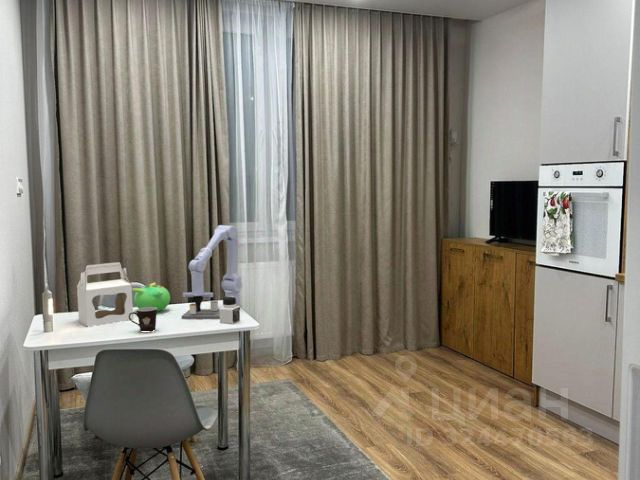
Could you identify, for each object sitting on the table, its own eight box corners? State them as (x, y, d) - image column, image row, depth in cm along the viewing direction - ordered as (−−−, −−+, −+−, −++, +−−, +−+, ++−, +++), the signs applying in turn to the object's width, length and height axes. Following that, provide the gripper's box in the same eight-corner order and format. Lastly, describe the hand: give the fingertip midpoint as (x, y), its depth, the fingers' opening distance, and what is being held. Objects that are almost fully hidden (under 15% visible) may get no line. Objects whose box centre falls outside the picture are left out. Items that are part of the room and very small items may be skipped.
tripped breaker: (191, 312, 289) (191, 303, 288) (197, 312, 288) (197, 303, 288) (189, 314, 285) (189, 304, 285) (195, 314, 285) (195, 304, 285)
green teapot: (174, 308, 308) (173, 280, 306) (165, 315, 291) (163, 286, 290) (140, 308, 308) (139, 281, 307) (129, 315, 292) (128, 286, 290)
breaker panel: (190, 312, 298) (190, 309, 298) (227, 312, 297) (227, 309, 297) (181, 319, 283) (181, 315, 283) (220, 319, 282) (219, 316, 282)
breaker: (212, 309, 295) (211, 300, 294) (218, 309, 295) (217, 300, 294) (210, 311, 292) (210, 301, 291) (216, 311, 292) (216, 301, 291)
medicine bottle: (233, 324, 272) (232, 298, 271) (219, 323, 275) (218, 298, 273) (240, 320, 279) (239, 296, 278) (226, 319, 281) (226, 295, 280)
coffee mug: (161, 329, 265) (160, 307, 264) (151, 333, 257) (150, 311, 256) (139, 327, 268) (138, 306, 267) (128, 332, 260) (127, 310, 259)
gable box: (87, 327, 270) (83, 267, 267) (78, 322, 280) (75, 264, 277) (133, 319, 284) (131, 262, 281) (123, 314, 294) (121, 260, 291)
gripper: (180, 285, 282) (181, 313, 283) (210, 285, 281) (211, 313, 282) (185, 283, 289) (186, 309, 290) (213, 283, 288) (214, 309, 289)
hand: (198, 311), depth 287 cm, fingers closed
